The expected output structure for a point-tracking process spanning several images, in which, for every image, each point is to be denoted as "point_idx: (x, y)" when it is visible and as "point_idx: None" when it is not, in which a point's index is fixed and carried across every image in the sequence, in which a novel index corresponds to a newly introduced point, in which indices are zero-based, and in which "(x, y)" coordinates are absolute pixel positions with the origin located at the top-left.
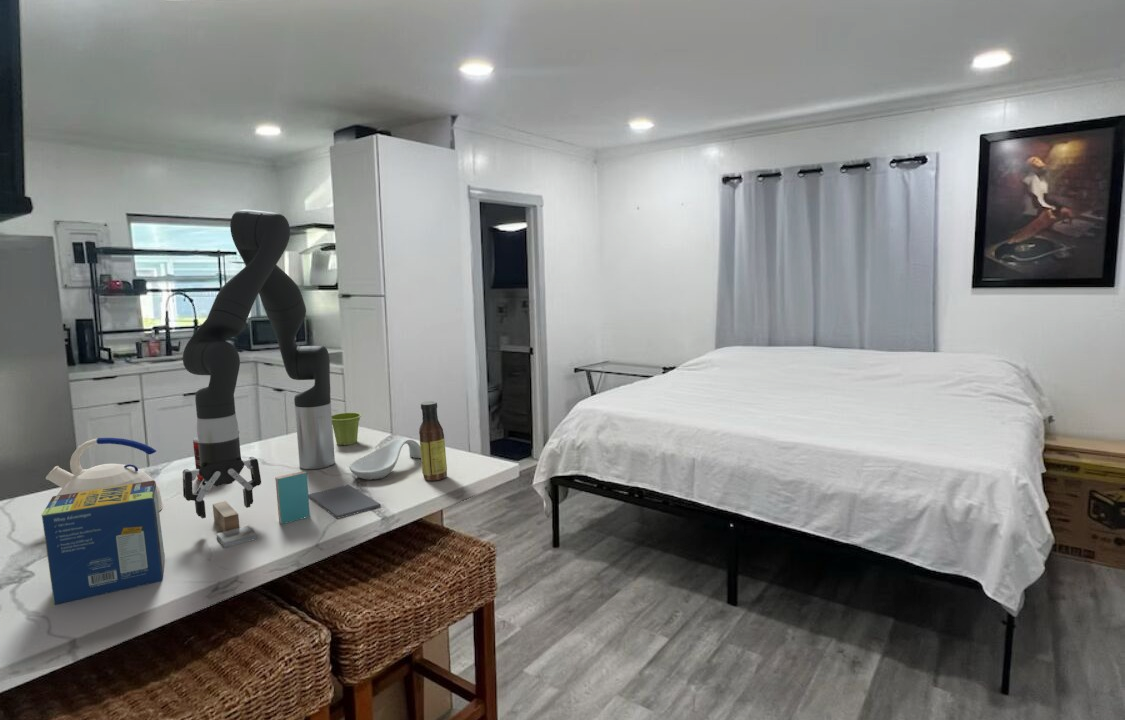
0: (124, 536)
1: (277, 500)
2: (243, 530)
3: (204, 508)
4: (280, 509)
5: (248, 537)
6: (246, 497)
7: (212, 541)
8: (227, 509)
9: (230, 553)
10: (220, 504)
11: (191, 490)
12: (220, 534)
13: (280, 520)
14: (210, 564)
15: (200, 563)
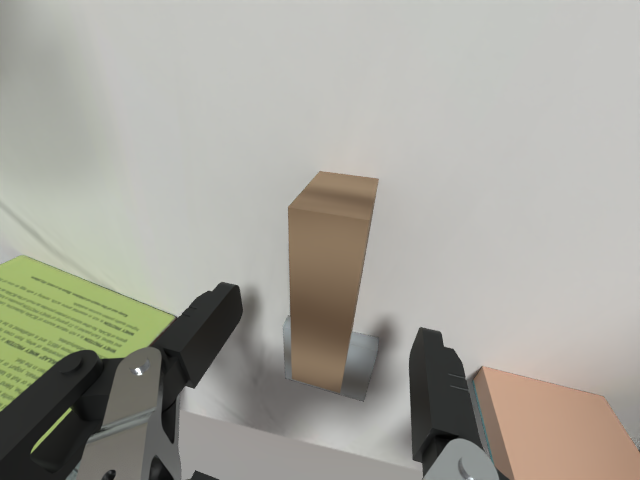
0: None
1: (510, 473)
2: (349, 365)
3: (216, 350)
4: (487, 443)
5: (342, 392)
6: (412, 414)
7: (274, 323)
8: (325, 333)
9: (292, 391)
10: (322, 252)
11: (74, 461)
12: (290, 339)
13: (477, 388)
14: (253, 393)
15: (239, 379)
